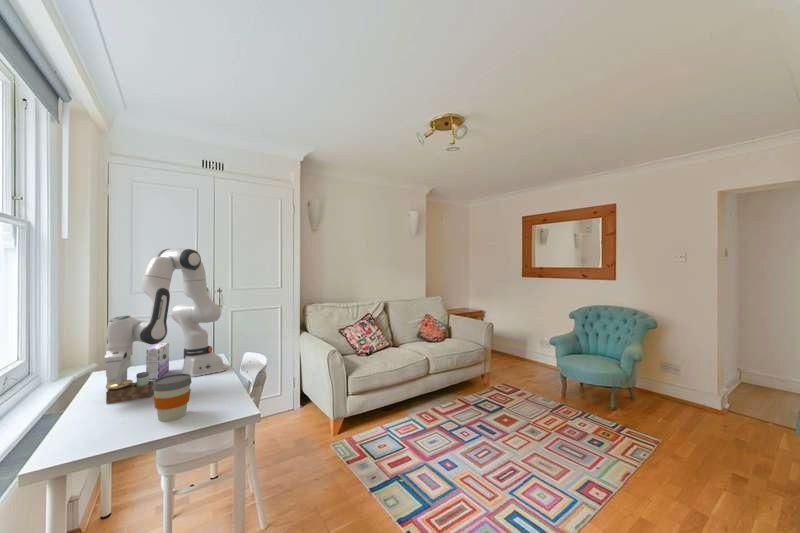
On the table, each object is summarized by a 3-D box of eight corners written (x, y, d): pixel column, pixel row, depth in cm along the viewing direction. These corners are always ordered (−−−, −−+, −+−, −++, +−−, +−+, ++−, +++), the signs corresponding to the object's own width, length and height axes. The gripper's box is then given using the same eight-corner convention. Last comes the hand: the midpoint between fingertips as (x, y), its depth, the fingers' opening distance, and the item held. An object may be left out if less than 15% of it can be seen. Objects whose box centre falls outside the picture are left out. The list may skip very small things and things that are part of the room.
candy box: (157, 372, 179) (157, 343, 179) (169, 371, 180) (169, 342, 180) (145, 380, 165) (145, 349, 166) (158, 379, 167) (159, 348, 167)
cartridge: (149, 392, 149) (150, 371, 149) (147, 395, 145) (147, 374, 145) (137, 394, 147) (137, 372, 147) (134, 397, 143) (135, 375, 143)
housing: (155, 390, 152) (155, 379, 152) (151, 396, 144) (151, 385, 144) (113, 396, 145) (113, 385, 145) (106, 403, 137) (106, 392, 137)
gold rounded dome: (134, 391, 148) (135, 378, 148) (129, 398, 140) (129, 384, 140) (109, 394, 144) (109, 381, 144) (102, 402, 136) (102, 388, 136)
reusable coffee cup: (185, 406, 134) (185, 371, 134) (195, 415, 126) (196, 377, 126) (148, 417, 124) (148, 379, 125) (157, 427, 116) (157, 386, 117)
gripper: (118, 348, 150) (117, 377, 150) (102, 359, 132) (101, 392, 132) (134, 346, 153) (134, 375, 153) (121, 357, 135) (121, 389, 135)
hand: (119, 383), depth 142 cm, fingers closed, pressing on gold rounded dome
